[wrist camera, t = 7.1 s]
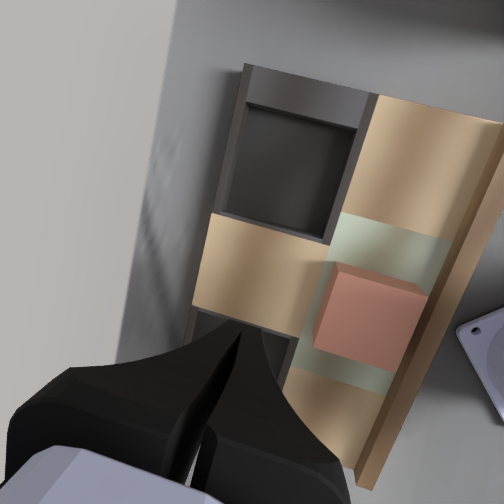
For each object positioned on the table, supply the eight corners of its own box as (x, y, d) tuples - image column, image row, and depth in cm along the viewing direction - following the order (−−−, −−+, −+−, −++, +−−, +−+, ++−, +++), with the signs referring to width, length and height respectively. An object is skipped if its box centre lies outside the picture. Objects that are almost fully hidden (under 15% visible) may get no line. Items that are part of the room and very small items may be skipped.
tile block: (415, 283, 18) (428, 297, 16) (386, 352, 19) (395, 372, 17) (335, 261, 19) (338, 271, 17) (312, 330, 20) (312, 347, 18)
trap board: (506, 132, 17) (541, 125, 15) (364, 456, 23) (371, 491, 21) (249, 71, 18) (240, 55, 16) (177, 393, 24) (162, 418, 22)
